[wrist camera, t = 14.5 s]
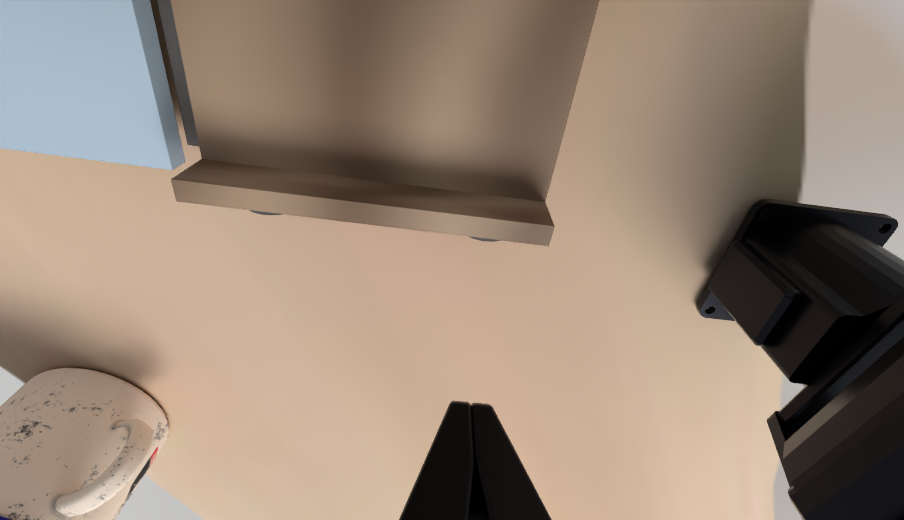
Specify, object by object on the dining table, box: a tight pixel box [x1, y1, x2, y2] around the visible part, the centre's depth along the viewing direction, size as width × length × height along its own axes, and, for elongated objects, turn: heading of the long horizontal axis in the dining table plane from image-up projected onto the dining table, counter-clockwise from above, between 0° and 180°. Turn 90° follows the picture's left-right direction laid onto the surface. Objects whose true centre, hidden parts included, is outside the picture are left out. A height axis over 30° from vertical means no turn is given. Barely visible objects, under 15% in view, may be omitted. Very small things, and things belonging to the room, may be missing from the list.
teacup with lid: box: [0, 368, 169, 520], centre depth 23 cm, size 12×9×12 cm
